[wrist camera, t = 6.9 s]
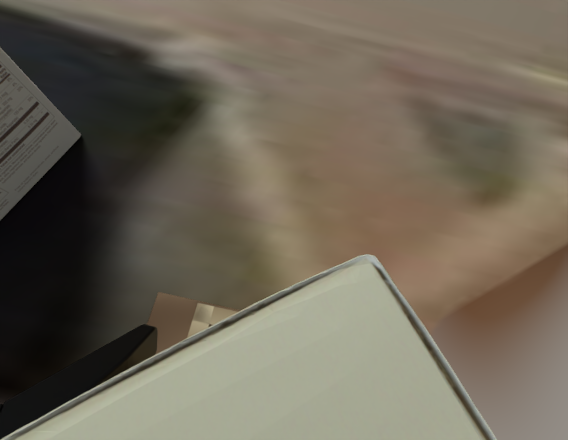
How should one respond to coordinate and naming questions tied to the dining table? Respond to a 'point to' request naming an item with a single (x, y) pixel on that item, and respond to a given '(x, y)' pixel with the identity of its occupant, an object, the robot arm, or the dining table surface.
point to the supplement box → (27, 134)
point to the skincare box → (287, 375)
